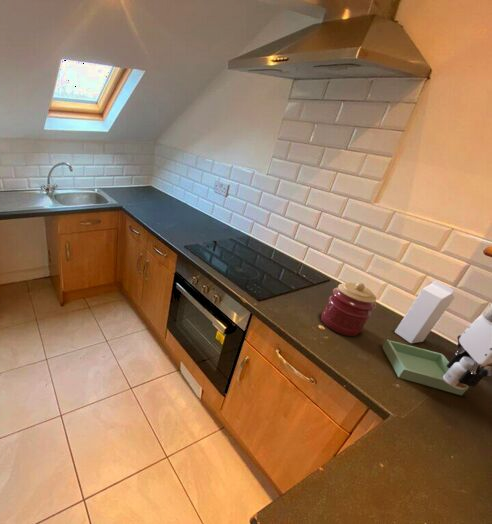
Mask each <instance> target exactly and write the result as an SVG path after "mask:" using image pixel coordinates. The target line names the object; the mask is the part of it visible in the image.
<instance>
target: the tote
mask: <svg viewBox="0 0 492 524" xmlns="http://www.w3.org/2000/svg"><path fill="white" fill-rule="evenodd" d="M381 348H382V350H383V352H384V354H385V355H386V358H387V359H388V361H389V363H390V365H391V367H392V368H393V370H394V372H395V374H396V375H397V377H398V378H399V379H401V380H405V381H409V382H414V383H416V384H420V385H424V386H426V387H431V388H433V389H438V390H442V391H443V392H448V393H452V394H455V395H459V396H463V395H464V394H465V392H466V391H467V390H468V389H469V388H470V386H467V387H466V388H465V389H462V390H461V389H457V388H455V387H453V386H451V385H449V384H448V383H447V382H445V380H444V379H443V376H444V375H445V374H446V373H447V371H448V370H449V369H450V368H448V367H447V364H448V363H449V362H450V360H448V359H447V358H446V356H445V355H444V354H443V353H440V352H437V351H433V350H429V349H425V348H421V347H418V346H414V345H410V344H406V343H403V342H398V341H394V340H390V339H386V340H385V342H384V343H383V345H382V346H381Z"/></svg>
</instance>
